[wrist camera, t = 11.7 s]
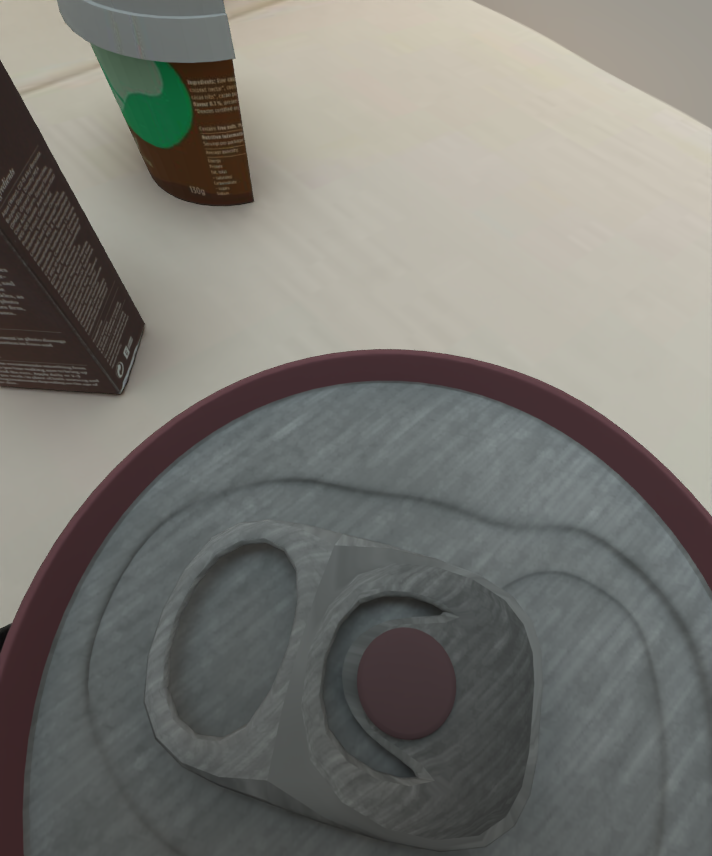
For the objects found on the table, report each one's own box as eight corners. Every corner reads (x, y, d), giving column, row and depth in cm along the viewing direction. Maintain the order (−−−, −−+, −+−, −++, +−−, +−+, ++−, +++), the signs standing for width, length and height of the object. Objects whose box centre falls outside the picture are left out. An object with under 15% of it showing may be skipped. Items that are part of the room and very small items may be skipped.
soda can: (488, 592, 15) (840, 389, 5) (452, 872, 12) (1310, 2285, 1) (278, 534, 16) (161, 236, 5) (191, 787, 13) (-558, 1338, 2)
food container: (108, 116, 31) (16, -108, 22) (203, 97, 32) (152, -122, 23) (152, 246, 26) (56, 24, 17) (262, 218, 27) (225, -3, 18)
